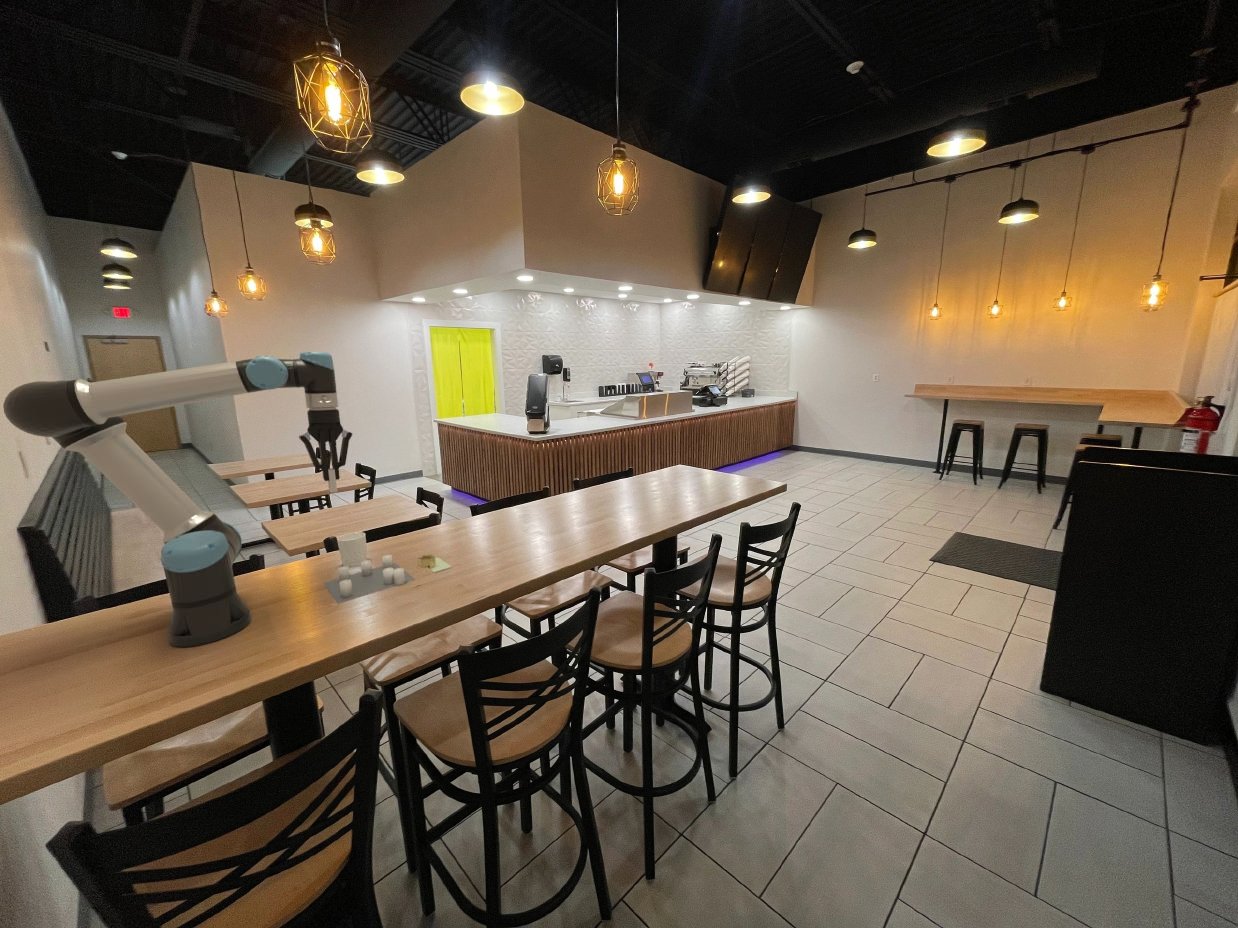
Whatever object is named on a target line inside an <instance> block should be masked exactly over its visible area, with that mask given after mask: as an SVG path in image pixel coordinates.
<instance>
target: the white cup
mask: <svg viewBox="0 0 1238 928" xmlns="http://www.w3.org/2000/svg"><path fill="white" fill-rule="evenodd" d="M336 540H337V546H338V550H339V555H340V559H341V563H342V565H343V566H348V567H349V568H350V567H351V568H352V567H357V566H361V564H360V563H361V562H362V561H365V560H368V557H367V556H368V551H367V550H368V548H367V539H366V533H365V532H360V531H355V532H350V533H349V532H348V533H345V534H341V535H340V536H337V538H336Z"/></svg>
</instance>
